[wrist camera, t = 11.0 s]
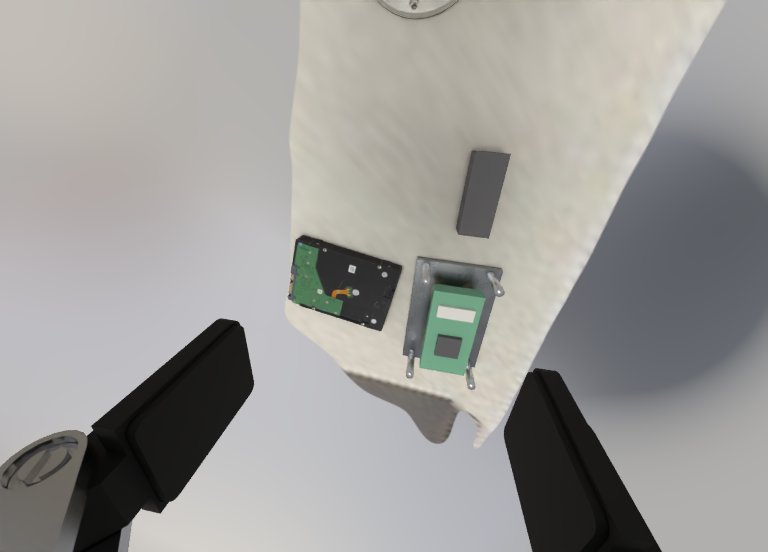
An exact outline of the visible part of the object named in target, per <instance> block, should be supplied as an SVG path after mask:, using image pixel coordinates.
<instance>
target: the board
mask: <svg viewBox="0 0 768 552" xmlns="http://www.w3.org/2000/svg"><path fill="white" fill-rule="evenodd" d="M484 302H485V295H484V293H483V291H482V290H475V289H468V288H462V287H455V286H448V285H441V284H434V286H433V292H432V297H431V302H430V308H429V313H428V318H427V323H426V329H425V334H424V339H423V345H422V350H421V355H420V368H423V369H429V370H435V371H440V372H446V373H452V374H457V375H463V376H464V373H465V370H466V366H467V363H468V359H469V355H470V352H471V348H472V345H473V341H474V338H475V334H476V331H477V327H478V323H479V320H480V316H481V313H482V309H483V306H484Z"/></svg>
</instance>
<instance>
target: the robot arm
mask: <svg viewBox="0 0 768 552" xmlns="http://www.w3.org/2000/svg"><path fill="white" fill-rule="evenodd" d="M378 1H379V3H380V4H381V5H382V6H384V7H385V8H386V9H388V10H389V11H391V12H392V13H394V14H397V15H400V16H402V17H406V18H415V19H417V18H425V17H430V16H433V15H435V14H438V13H441V12H442V11H444V10H445V9H447V8H449V7H450V6H452V5H453V4H454V3H455V2H456V1H458V0H378ZM413 5H416V6H417V8H416V9H414V10H413V9H412V6H413ZM253 387H254V380H253V375H252V369H251V364H250V359H249V353H248V348H247V343H246V338H245V332H244V328H243V327H242V326H240V323H239V322H238V321H234V320H227V319H218V320H216V321H215V322H214V323H213V324H212V325H210V326H209V327H208V328H207V329H206V330H204V331H203V332H202V333H201V334H200V335H198V336H197V337H196V338H195V339H194V340H193V341H191V342H190V343H189V344H188V345H187V346H185V347H184V348H183V349H182V350H181V351H180V352H178V353H177V354H176V355H175V356H174V357H173V358H171V359H170V360H169V361H168V362H166V363H165V365H163V366H162V367H161V368H159V369H158V370H157V371H156V372H155V373H153V375H151V376H150V377H149V378H148V379H146V380H145V381H144V382H143V383H142V384H141V385H139V386H138V387H137V388H136V389H135V390H133V391H132V392H131V393H130V394H129V395H127V396H126V397H125V398H124V399H123V400H121V401H120V402H119V403H118V404H117V405H116V406H114V407H113V408H112V409H111V410H110V411H109V412H107V413H106V414H105V415H104V416H103V417H101V418H100V419H99V420H98V421H97V422H95V423H94V424H93V425H92V428H93V431H92V432H91V433H90V434H89V435H87V436H86V435H85V434H84V433H83V432H80V431H77V430H68V431H62V432H58V433H54V434H51V435H49V436H46V437H44V438H41V439H39V440H37V441H35V442H33V443H31V444H30V445H28V446H26V447H24V448H23V449H22V450H20V451H19V452H17V453H16V454H14V455H13V456H12V457H10V458H9V459H8V460H7V461H6V462H5V463H4V464H3V465H2V466H1V467H0V552H128V547H129V540H130V532H131V525H132V520H133V518H134V517H135V515H137V513H138V512H139V511H140V509H141V508H142V509H143V510H147V511H152V512H156V513H161V512H162V511H163V509H164V508H165V507H166V505H167V504H168V503H169V502H170V501H173V500H175V499H176V498H177V497H178V495H179V494H180V493H181V492H182V490H183V489H184V487H185V486H186V484H187V483H188V482H189V480H190V479H191V477H192V476H193V475H194V473H195V472H196V470H197V469H198V467H199V466H200V465H201V463H202V462H203V460H204V459H205V457H206V456H207V455H208V453H209V452H210V450H211V449H212V448H213V446H214V445H215V443H216V442H217V440H218V439H219V438H220V436H221V435H222V433H223V432H224V431H225V429H226V427H227V426H228V425H229V423H230V422H231V421H232V419H233V418H234V416H235V415H236V413H237V412H238V411H239V409H240V408H241V407H242V405H243V404H244V402H245V401H246V399H247V398H248V396H249V395H250V394H251V392H252V390H253ZM504 439H505V444H506V448H507V452H508V455H509V460H510V464H511V468H512V472H513V476H514V480H515V484H516V488H517V492H518V495H519V499H520V504H521V508H522V512H523V515H524V520H525V524H526V527H527V532H528V536H529V539H530V543H531V547H532V551H533V552H662V551H661V550H660V548H659V546H658V544H657V543H656V541H655V539H654V537H653V536H652V533H651V532H650V530H649V528H648V527H647V525H646V523H645V521H644V519H643V518H642V516H641V514H640V512H639V511H638V509H637V507H636V505H635V503H634V502H633V500H632V498H631V496H630V495H629V493H628V491H627V489H626V488H625V486H624V484H623V482H622V480H621V479H620V477H619V475H618V473H617V472H616V470H615V468H614V466H613V465H612V463H611V461H610V459H609V457H608V456H607V454H606V452H605V450H604V449H603V447H602V445H601V443H600V442H599V440H598V438H597V436H596V434H595V433H594V431H593V430H592V428H591V427H590V426H589V425H588V424H587V422H586V420H585V419H584V417H583V415H582V413H581V411H580V410H579V408H578V406H577V404H576V402H575V401H574V399H573V397H572V395H571V393H570V392H569V390H568V388H567V386H566V384H565V383H564V381H563V379H562V377H561V376H560V374H559V373H558V372H556V371H551V370H545V369H539V368H536V369H534V371H533V372H528V373H527V375H526V377H525V380H524V382H523V385H522V387H521V389H520V392H519V394H518V397H517V399H516V401H515V404H514V406H513V409H512V411H511V414H510V416H509V418H508V421H507V423H506V426H505V428H504Z"/></svg>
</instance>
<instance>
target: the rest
mask: <svg viewBox="0 0 768 552" xmlns="http://www.w3.org/2000/svg"><path fill="white" fill-rule="evenodd" d="M510 155H511V154H504V153H495V152H485V151H472V153H471V158H470V163H469V168H468V173H467V178H466V182H465V187H464V192H463V197H462V202H461V207H460V212H459V217H458V221H457V226H456V229H457V232H458V235H466V236H474V237H481V238H489V236H490V232H491V228H492V224H493V220H494V217H495V213H496V209H497V205H498V201H499V197H500V193H501V190H502V186H503V182H504V178H505V174H506V170H507V167H508V163H509V159H510Z"/></svg>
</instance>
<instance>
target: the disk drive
mask: <svg viewBox="0 0 768 552" xmlns="http://www.w3.org/2000/svg"><path fill="white" fill-rule="evenodd" d="M401 270H402V266H400V265H396V264H393V263H392V262H389V261H385V260H381V259H378V258H374V257H371V256H368V255H365V254H362V253H358V252H355V251H352V250H349V249H346V248H343V247H339V246H336V245H333V244H330V243H327V242H324V241H322V240H319V239H314V238H311V237H308V236H305V235H302V236H301V237H299V238H298V239H296V242H295V249H294V256H293V262H292V267H291V273H292V274H291V282H290V288H289V295H288V299H289V300H292V302H293V303H296V304H299V305H300V306H302V307H305V308H309V309H312V310H315V311H318V312H321V313H324V314H328V315H331V316H334V317H337V318H340V319H343V320H346V321H350V322H353V323H356V324H359V325H362V326H365V327H367V328H371V329H374V330H378V331H381V330H382V328H383V325H384V322H385V319H386V315H387V313H388V310H389V307H390V304H391V301H392V298H393V295H394V292H395V289H396V286H397V283H398V280H399V277H400V274H401Z"/></svg>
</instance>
